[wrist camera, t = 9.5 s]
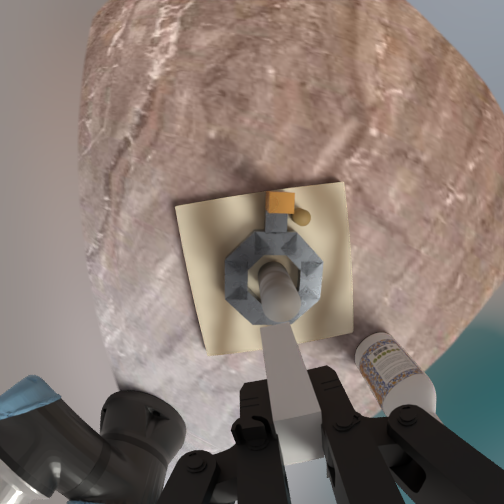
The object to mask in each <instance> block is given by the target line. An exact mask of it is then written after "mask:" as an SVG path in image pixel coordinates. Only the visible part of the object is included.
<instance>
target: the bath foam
mask: <svg viewBox="0 0 504 504" xmlns="http://www.w3.org/2000/svg"><path fill="white" fill-rule="evenodd" d="M355 363H356V365H357V367H358V369H359V370H360V372H361V374H362V376H363V377H364V379H365V381H366V383H367V384H368V386H369V388H370V389H371V391H372V393H373V395H374V396H375V398H376V400H377V402H378V403H379V405H380V407H381V409H382V410H383V412H384V413H385V415H386V416H387V417H389V415H390V413H391V412H392V411H393V410H394V409H395V408H397V407H399V406H401V405H407V404H412V405H417V406H419V407H421V408H422V409H424V410H425V411H426V412H428V413H429V414H430V415H432V416H433V417H434V418H435V419H437V420H438V421H439V422H441V420H440V419H439V418H438V416H437V415H436V414H435V411H436V392H435V388H434V386H433V384H432V382H431V380H430V379H429V377H428V376H427V375H426V374H425V373H424V371H423V370H422V369H421V368H420V367H419V366H418V365H417V363H416V362H415V361H414V360H413V359H412V358H411V357H410V356H409V354H408V353H407V352H406V351H405V350H404V349H403V348H402V347H401V346H400V344H399V343H398V342H397V341H396V340H395V339H394V338H393V337H392V336H391V335H389V334H387V333H375V334H372V335H370V336H369V337H367V338H366V339H364V340H363V341H362V342H361V344H360V345H359V346H358V348H357V350H356V353H355ZM441 423H442V422H441ZM442 424H443V423H442ZM443 425H444V424H443Z"/></svg>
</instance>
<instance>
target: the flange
mask: <svg viewBox="0 0 504 504" xmlns="http://www.w3.org/2000/svg"><path fill="white" fill-rule="evenodd" d="M294 205H295V193H292V192H280V191H265V219H264V230H259V229H254V230H253V231H252V232H251V233H250V234H249V235H248V236H247V237H246V238H245V239H244V240H243V241H242V242H241V243H240V244H239V245H238V246H236V247H235V248H234V249H233V250H232V251H231V252H230V253H229V254H228V255H227V256H226V257H225V300H226V301H227V302H228V303H229V304H230V305H231V306H232V307H234V308H235V309H236V310H237V311H238V312H239V313H240V314H241V315H242V316H243V317H244V318H246V319H247V320H248V321H249V322H250V323H251V324H252V325H276V324H281V323H286V322H289V323H290V325H291V324H292V323H294V322H295V321H296V320H297V319H298V318H299V317H301V316H302V315H303V314H304V313H305V312H306V311H307V310H309V309H310V308H311V307H312V306H313V305H314V304H315V303H317V302H318V301H319V300H320V294H321V284H322V274H323V260H322V259H321V258H320V257H319V256H318V255H317V254H316V253H315V252H314V250H313V249H312V248H311V247H310V246H309V245H308V244H307V243H306V242H305V241H304V239H303V238H302V237H301V236H300V235H299V234H298V233H297V232H296V231H295V230H287V221H288V214H294ZM264 255H287V257H288V258H289V259H290V260H291V261H292V262H293V263H294V264H295V265H296V266H297V267H298V279H297V287H296V290H297V292H298V294H299V296H300V299H301V307H300V310H299V312H298V314H297V315H296V316H295V317H294V318H292V319H291V320H289V321H286V322H275V321H272V320H270V319H269V318H268V317H267V316H266V315H265V314H264V312H263V309H262V303H261V299H260V298H259V297H258V296H257V295H256V294H255V293H254V292H253V291H252V290H251V289H250V288H249V287H248V270H249V269H250V268H251V267H252V266H253V265H254V264H255V263H256V262H257V261H258V260H259V259H260V258H261V257H263V256H264Z"/></svg>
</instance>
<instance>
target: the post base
mask: <svg viewBox="0 0 504 504" xmlns="http://www.w3.org/2000/svg"><path fill="white" fill-rule="evenodd" d="M270 191H280V192H292V193H295V205H294V214H288V221H287V230H295V231H296V232H297V233H298V234H299V235H300V236H301V237H302V238H303V239H304V241H305V242H306V243H307V244H308V245H309V246H310V247H311V248H312V249H313V250H314V252H315V253H316V254H317V255H318V256H319V257H320V258H321V259H322V260H323V274H322V284H321V294H320V300H319V301H318V302H317V303H315V304H314V305H313V306H312V307H311V308H310V309H309V310H307V311H306V312H305V313H304V314H303V315H302V316H301V317H299V318H298V319H297V320H296V321H295V322H294V323H292V324H291V328H292V331H293V334H294V336H295V339H296V342H297V344H299V343H305V342H310V341H315V340H320V339H325V338H330V337H335V336H340V335H344V334H349V333H353V287H352V265H351V249H350V236H349V224H348V213H347V204H346V195H345V186H344V182H336V183H327V184H318V185H309V186H301V187H293V188H285V189H278V190H270ZM175 209H176V215H177V221H178V226H179V231H180V237H181V242H182V247H183V252H184V257H185V262H186V267H187V271H188V276H189V281H190V285H191V290H192V294H193V299H194V303H195V307H196V311H197V316H198V320H199V324H200V328H201V332H202V336H203V340H204V344H205V347H206V351H207V355H208V356H214V355H224V354H232V353H240V352H248V351H255V350H262V349H263V347H262V340H261V333H260V328H261V327H266V326H271V325H252V324H251V323H250V322H249V321H248V320H247V319H246V318H244V317H243V316H242V315H241V314H240V313H239V312H238V311H237V310H236V309H235V308H234V307H232V306H231V305H230V304H229V303H228V302H227V301H226V300H225V257H226V256H227V255H228V254H229V253H230V252H231V251H232V250H233V249H234V248H235V247H236V246H238V245H239V244H240V243H241V242H242V241H243V240H244V239H245V238H246V237H247V236H248V235H249V234H250V233H251V232H252V231H253V230H254V229H259V230H264V219H265V191H263V192H256V193H250V194H243V195H237V196H230V197H224V198H218V199H212V200H206V201H201V202H195V203H189V204H184V205H179V206H175ZM297 279H298V267H297V266H296V265H295V264H294V263H293V262H292V261H291V260H290V259H289V258H288V257H287V255H264V256H263V257H261V258H260V259H259V260H258V261H257V262H256V263H255V264H254V265H253V266H252V267H251V268H250V269H249V270H248V287H249V288H250V289H251V290H252V291H253V292H254V293H255V294H256V295H257V296H258V297H259V298H260V299H261V303H262V309H263V312H264V314H265V315H266V316H267V317H268V318H269V319H270V320H272V321H275V322H286V321H289V320H291V319H292V318H294V317H295V316H296V315H297V314H298V312H299V310H300V307H301V299H300V296H299V294H298V292H297V290H296V287H297Z"/></svg>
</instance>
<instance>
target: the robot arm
mask: <svg viewBox="0 0 504 504" xmlns="http://www.w3.org/2000/svg"><path fill="white" fill-rule="evenodd" d="M260 333H261V340H262V347H263V354H264V361H265V368H266V375H267V379H265V380H259V381H254V382H248V383H244V385H243V387H242V388H241V390H240V418H238V419H237V420H236V421H235V422H234V423H233V425H232V428H231V432H232V434H233V437H234V440H235V442H236V444H235V445H234V446H232V447H231V448H230V449H228V450H225V451H223V452H220V453H217V454H214V455H212V454H211V453H209V452H207V451H203V450H194V451H191V452H188V453H186V454H185V455H183V456H182V457H181V458H180V459H179V460H178V462H177V464H176V466H175V468H174V470H173V472H172V473H171V475H170V477H169V479H168V481H167V483H166V485H165V487H164V489H163V486H164V481H165V476H166V471H167V467H168V464H169V463H170V462H171V460H172V459H173V458H174V456H175V455H176V454H177V452H178V451H179V450H180V449H181V447H182V446H183V443H184V440H185V435H186V426H185V423H184V421H183V419H182V417H181V416H180V415H179V414H178V412H177V411H176V410H175V409H173V408H172V407H171V406H170V405H168V404H167V403H165V402H164V401H162V400H160V399H158V398H156V397H154V396H152V395H149V394H146V393H142V392H138V391H119V392H116V393H114V394H112V395H110V397H108V399H107V400H106V402H105V404H104V406H103V408H102V411H101V421H100V435H99V434H98V433H97V432H96V431H94V430H93V429H92V428H91V427H90V426H89V425H88V424H87V423H86V422H85V421H83V420H82V419H81V418H80V417H79V416H78V415H77V414H76V413H75V412H74V411H73V410H72V409H71V408H70V407H69V406H68V405H67V404H66V403H65V402H64V401H63V400H62V399H61V396H60V395H59V394H57V393H55V392H54V390H52V389H51V388H50V386H49V385H48V384H47V383H46V382H45V381H44V380H43V379H41V378H40V377H38V376H36V375H28V376H27V377H25V378H24V379H22V380H21V381H20V382H18V383H17V384H15V385H14V386H13V387H11V388H10V389H9V390H8V391H6V392H5V393H3V394H2V395H1V396H0V504H30V503H31V501H32V500H34V499H49V498H50V497H51V496H52V494H53V493H54V491H55V490H57V491H58V492H60V493H61V494H62V495H64V496H65V497H66V498H68V499H69V501H68V502H67V504H234V503H235V501H236V500H238V504H291V500H290V493H289V488H288V481H287V477H286V472H285V467H284V466H285V465H291V464H296V463H301V462H306V461H310V460H314V459H319V458H323V457H324V455H325V458H326V462H327V478H330V481H331V485H332V488H333V492H334V495H335V498H336V502H337V504H405V502H404V500H403V498H402V496H401V494H400V491H399V489H398V487H397V485H398V486H399V487H401V489H402V490H403V491H404V492H405V493H406V494H407V495H408V496H409V497H410V498H411V499H412V500H413V501H414V502H415V503H416V504H504V470H503V469H502V468H500V467H499V466H498V465H496V464H495V463H494V462H492V461H491V460H490V459H488V458H487V457H486V456H484V455H483V454H481V453H480V452H479V451H477V450H476V449H475V448H473V447H472V446H471V445H470V444H468V443H467V442H466V441H464V440H463V439H462V438H460V437H459V436H458V435H456V434H455V433H454V432H452V431H451V430H450V429H448V428H447V427H446V426H445V425H443V424H442V423H441V422H439V421H438V420H437V419H435V418H434V417H433V416H432V415H430V414H429V413H428V412H426V411H425V410H424V409H422V408H421V407H419V406H417V405H412V404H407V405H401V406H399V407H397V408H395V409H394V410H393V411H392V412H391V413H390V415H389V417H379V418H369V417H364V416H362V415H361V414H360V413H358V412H356V411H355V410H354V408H353V406H352V404H351V402H350V400H349V398H348V396H347V394H346V392H345V390H344V388H343V386H342V384H341V382H340V380H339V378H338V376H337V374H336V372H335V370H333V369H332V368H330V367H329V366H327V365H326V366H322V367H318V368H314V369H310V370H306V367H305V364H304V361H303V359H302V356H301V353H300V350H299V347H298V345H297V342H296V339H295V336H294V334H293V331H292V328H291V325H290V323H289V322H286V323H281V324H276V325H271V326H266V327H261V328H260ZM395 482H396V483H397V485H396V483H395Z"/></svg>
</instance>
